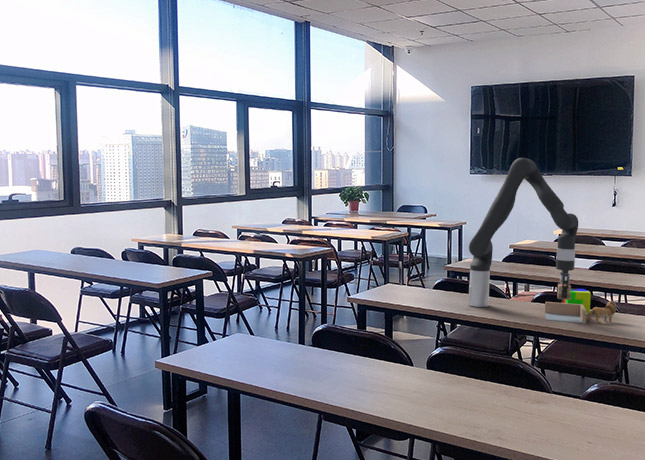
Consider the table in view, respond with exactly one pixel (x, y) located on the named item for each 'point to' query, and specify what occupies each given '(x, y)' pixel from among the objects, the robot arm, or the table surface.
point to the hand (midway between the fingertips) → (563, 296)
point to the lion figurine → (603, 312)
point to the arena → (565, 312)
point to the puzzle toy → (579, 298)
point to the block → (561, 292)
